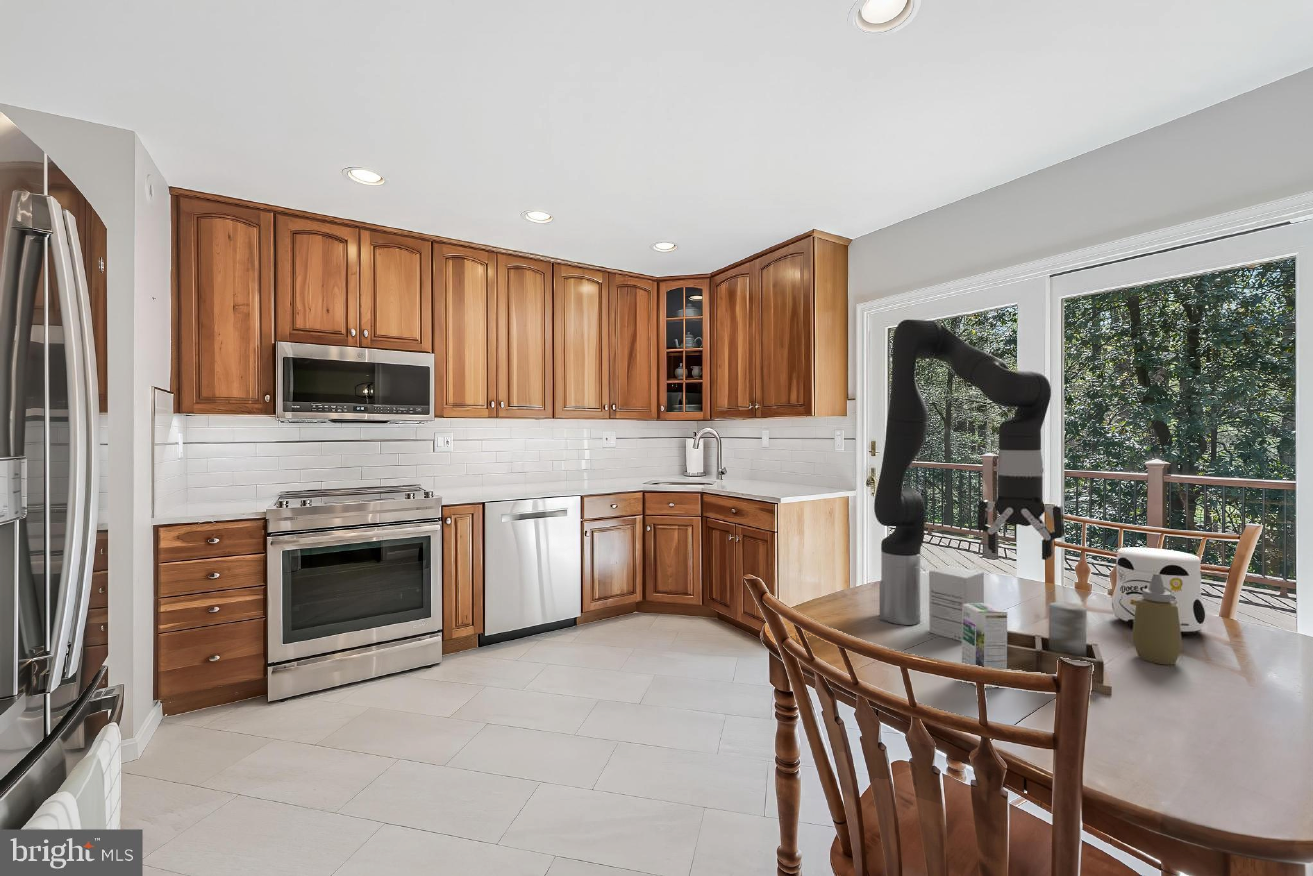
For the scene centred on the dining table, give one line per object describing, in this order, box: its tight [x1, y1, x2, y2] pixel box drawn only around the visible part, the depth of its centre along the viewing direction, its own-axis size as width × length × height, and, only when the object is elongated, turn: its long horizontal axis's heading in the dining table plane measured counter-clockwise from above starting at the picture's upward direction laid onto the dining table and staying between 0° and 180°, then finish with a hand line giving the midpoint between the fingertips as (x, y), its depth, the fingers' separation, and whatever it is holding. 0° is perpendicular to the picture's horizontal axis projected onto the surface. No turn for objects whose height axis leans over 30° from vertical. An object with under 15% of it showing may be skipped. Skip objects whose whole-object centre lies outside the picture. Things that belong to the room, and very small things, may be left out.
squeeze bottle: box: [1131, 573, 1184, 665], centre depth 121 cm, size 8×8×18 cm
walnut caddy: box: [1007, 602, 1113, 696], centre depth 117 cm, size 22×12×14 cm, turn 58°
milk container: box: [1111, 546, 1207, 635], centre depth 141 cm, size 17×17×18 cm
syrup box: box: [961, 602, 1008, 690], centre depth 111 cm, size 6×6×14 cm
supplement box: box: [928, 565, 985, 642], centre depth 138 cm, size 9×9×15 cm
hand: (1019, 555), depth 114 cm, fingers open, 8 cm apart
